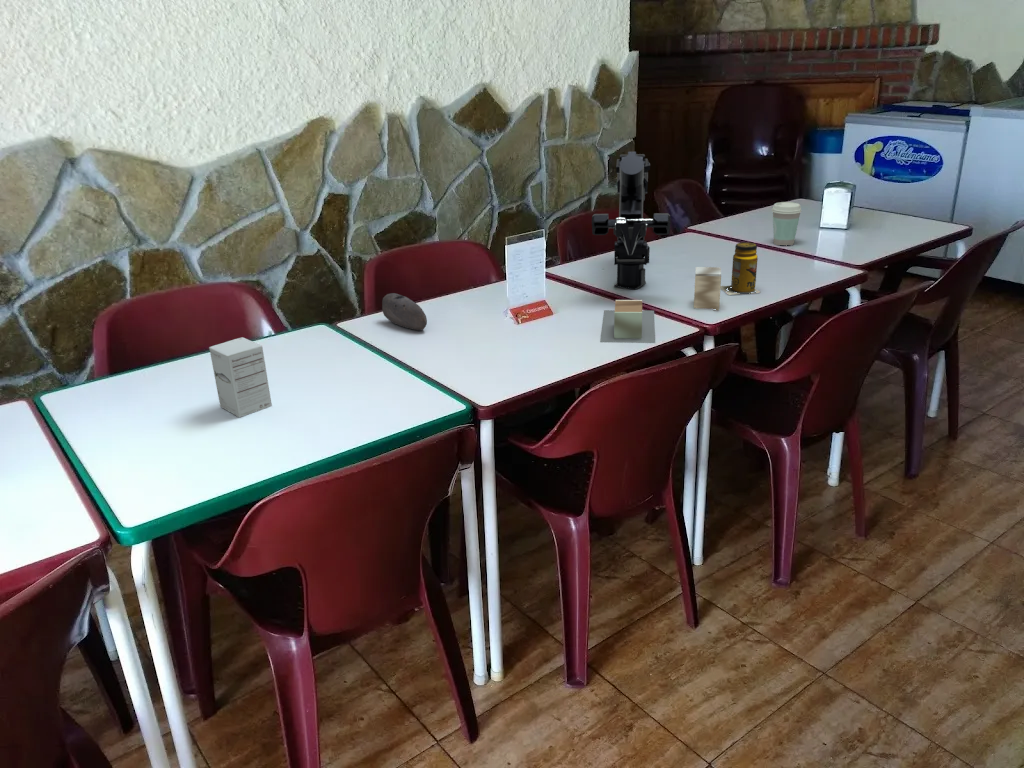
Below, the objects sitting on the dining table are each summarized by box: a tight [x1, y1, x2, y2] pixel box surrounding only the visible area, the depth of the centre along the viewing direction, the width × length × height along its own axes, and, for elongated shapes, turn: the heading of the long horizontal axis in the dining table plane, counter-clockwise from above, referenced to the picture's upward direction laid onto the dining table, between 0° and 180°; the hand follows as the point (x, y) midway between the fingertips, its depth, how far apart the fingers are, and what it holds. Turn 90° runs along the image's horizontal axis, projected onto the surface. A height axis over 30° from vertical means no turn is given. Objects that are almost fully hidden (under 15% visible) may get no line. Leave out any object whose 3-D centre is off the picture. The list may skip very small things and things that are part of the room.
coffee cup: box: [771, 201, 802, 247], centre depth 257 cm, size 8×8×12 cm
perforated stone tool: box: [381, 292, 428, 331], centre depth 202 cm, size 15×5×7 cm, turn 40°
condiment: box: [720, 241, 761, 296], centre depth 217 cm, size 7×8×12 cm
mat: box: [599, 309, 656, 344], centre depth 196 cm, size 22×12×1 cm, turn 172°
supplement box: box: [208, 336, 273, 418], centre depth 161 cm, size 7×7×13 cm
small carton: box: [614, 299, 643, 339], centre depth 191 cm, size 6×6×9 cm
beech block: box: [693, 266, 722, 311], centre depth 206 cm, size 6×6×9 cm
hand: (630, 254), depth 203 cm, fingers closed
